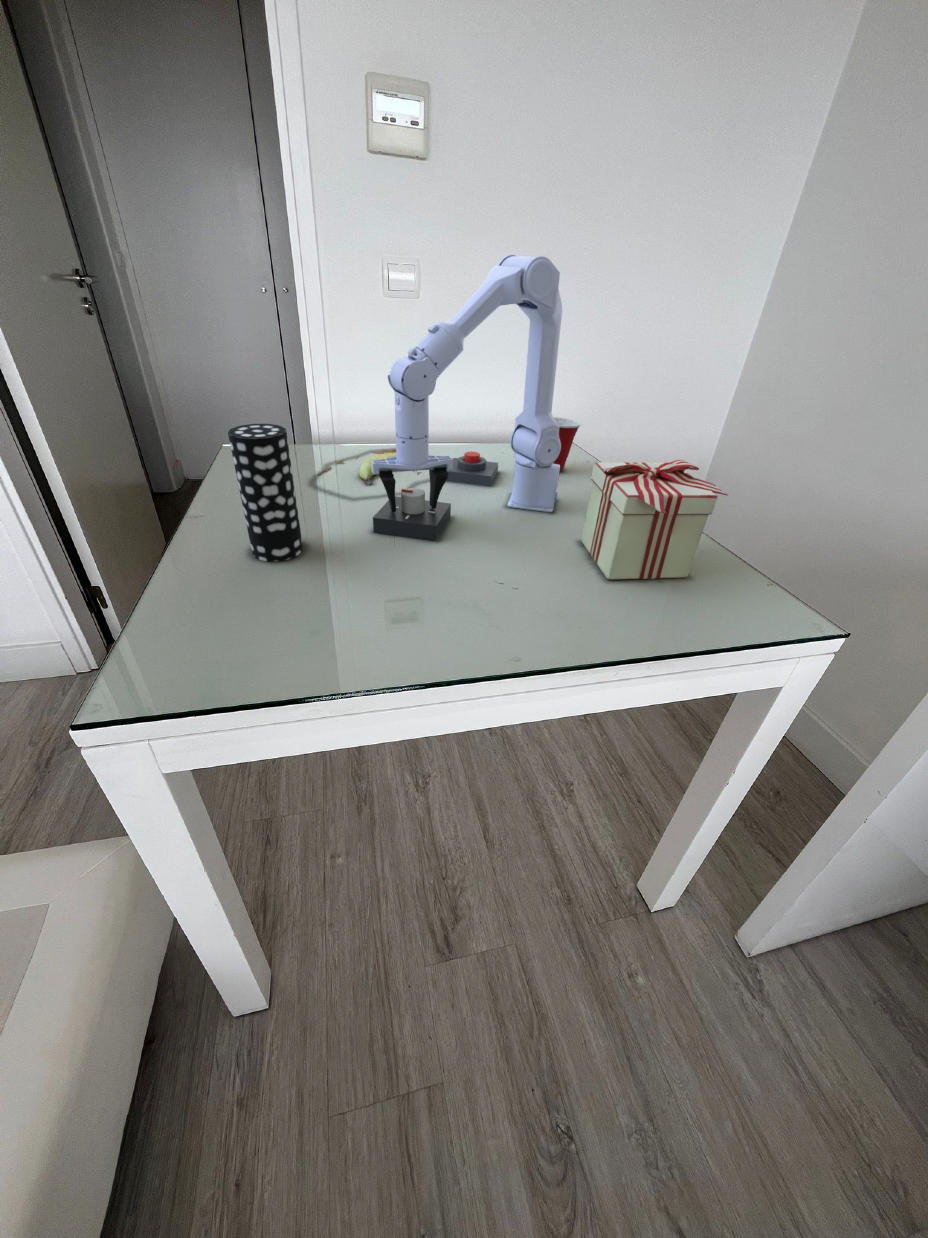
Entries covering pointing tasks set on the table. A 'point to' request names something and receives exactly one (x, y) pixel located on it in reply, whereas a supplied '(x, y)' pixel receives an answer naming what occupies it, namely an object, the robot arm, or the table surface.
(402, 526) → the timer panel
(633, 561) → the gift box
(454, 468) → the switch block
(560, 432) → the plastic cup
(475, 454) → the power button
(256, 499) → the spotted tube
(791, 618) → the table surface
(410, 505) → the timer knob
